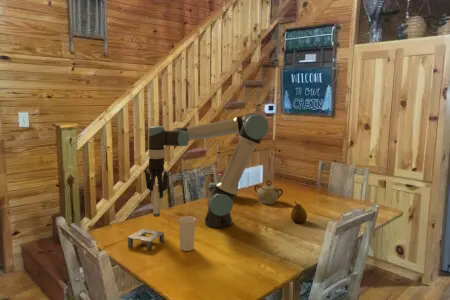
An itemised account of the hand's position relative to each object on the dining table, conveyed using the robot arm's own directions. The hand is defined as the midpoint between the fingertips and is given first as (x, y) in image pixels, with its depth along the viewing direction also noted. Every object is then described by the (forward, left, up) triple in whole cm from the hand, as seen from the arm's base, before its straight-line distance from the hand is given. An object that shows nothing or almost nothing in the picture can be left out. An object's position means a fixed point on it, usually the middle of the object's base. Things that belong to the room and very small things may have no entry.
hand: (156, 203), depth 185 cm
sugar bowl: (-37, -77, -16) cm, 87 cm away
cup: (-23, +11, -16) cm, 30 cm away
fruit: (-63, -48, -16) cm, 81 cm away
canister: (-8, -76, -16) cm, 78 cm away
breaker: (-3, +14, -15) cm, 21 cm away
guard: (-3, +14, -16) cm, 21 cm away
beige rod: (0, 0, -7) cm, 7 cm away
